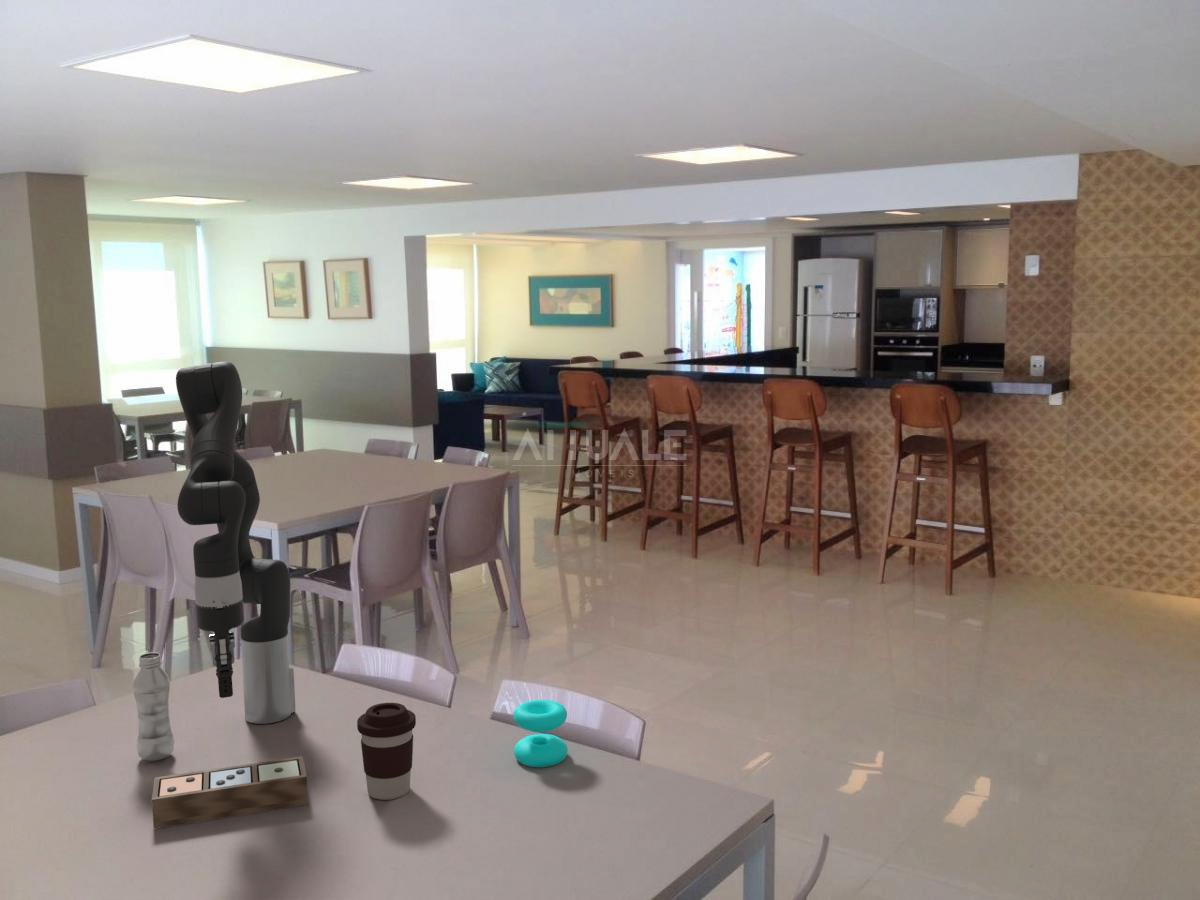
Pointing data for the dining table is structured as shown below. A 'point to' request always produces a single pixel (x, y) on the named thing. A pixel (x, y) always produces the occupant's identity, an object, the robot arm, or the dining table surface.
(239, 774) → the button three
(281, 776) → the button one
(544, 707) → the donuts
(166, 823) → the dice tray set
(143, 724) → the plastic bottle
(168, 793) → the button two
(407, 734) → the coffee cup
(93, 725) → the dining table surface
